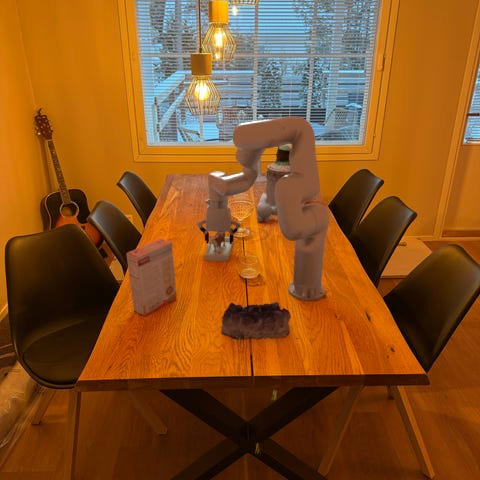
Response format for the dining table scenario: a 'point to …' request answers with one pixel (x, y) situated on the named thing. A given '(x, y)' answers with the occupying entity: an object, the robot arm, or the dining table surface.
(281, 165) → the cookie jar
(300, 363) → the dining table surface
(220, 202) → the robot arm
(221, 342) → the dining table surface
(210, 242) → the bull figurine
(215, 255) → the tray
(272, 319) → the geode
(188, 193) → the dining table surface
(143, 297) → the cracker box
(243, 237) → the dining table surface
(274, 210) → the chubby cartoon animal
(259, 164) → the candlestick
